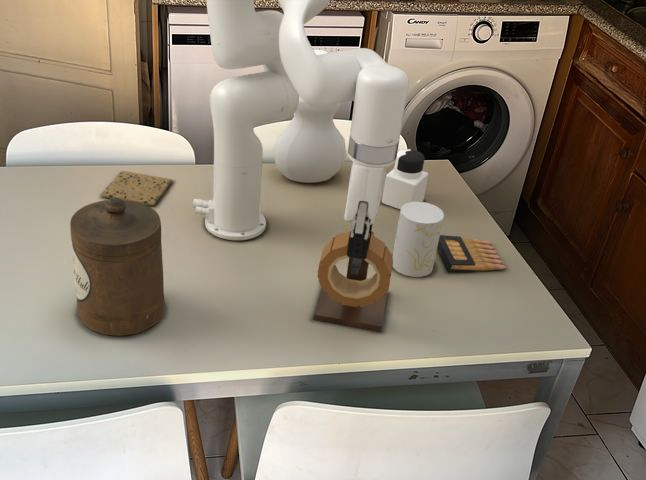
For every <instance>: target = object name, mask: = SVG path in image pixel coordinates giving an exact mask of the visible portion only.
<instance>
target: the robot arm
mask: <svg viewBox="0 0 646 480" xmlns="http://www.w3.org/2000/svg"><path fill="white" fill-rule="evenodd" d="M205 1H206V2H205V3H206V12H207V19H208V28H209V35H210V36H209V37H210V44H211V45H210V46H211V50H212V55H213V59H214V61H215V64H216V65H217V66H218V67H220V68H222V69H223V70H239V69H246V68H251V67H258V66H263V70H264V71H261V72H255V73H248V74H243V75H236V76H231V77H228V78H224V79H222V80H221V81H219V82H218V83H216V84H215V85H214V86H213V88H212V89H211V91H210V93H209V107H210V113H211V118H212V119H211V120H212V127H213V128H212V129H213V182H212V183H213V184H212V185H213V186H212V187H213V189H212V199H209V200H204V199H201V198H200V199H199V198H194V199H193V202H192V207H193V208H194V209H195V210H194V211H195V214H200V215H205V218H204V226H205V228H206V230H207V231H208V232H209V233H210V234H211V235H213V236H215V237H217V238H220V239H223V240H229V241H245V240H246V241H247V240H251V239H254V238H257V237H258V236H260V235H262V234H263V233H264V232H265V230H266V228H267V219H266V216H264V215H263V214H262V213H261V212H260V206H261V190H262V189H261V188H262V175H263V160H264V159H263V156H264V149H263V143H262V141H261V140H260V138H259V137H258V135H257V134H256V133H255V131H254V129H255V127H257V126H263V125H264V124H269V123H273V122H278V121H283V120H286V119H288V118H290V117H292V116H294V113H295V112H296V110H297V108H298V105H299V96H300V97H301V98H302V99H303V100H304V101H305V102H306V103H308V104H309V105H311V106H315V107H323V106H329V105H333V104H338V103H341V104H342V103H346V102H353V108H352V115H351V123H350V131H349V140H348V148H347V157H348V159H349V160H350V161H351V162H352V164H351V170H350V173H349V174H350V175H349V181H348V189H347V197H346V202H345V209H344V216H343V219H344V221H345V222H351V229H350V231H351V234H350V235H349V242H348V249H347V256H348V258H349V257H352V258H358V259H366V257H367V251H368V244H369V238H370V236H371V231H372V230H373V224H374V223H375V220H376V218H377V214H378V211H379V209H380V208H379V207H380V204H381V201H382V197H383V191H384V185H385V179H386V175H387V170H388V167H391V166H393V165H395V162H396V158H397V153H398V152H399V145H400V140H401V139H400V138H401V131H402V127H403V121H404V115H405V114H404V113H405V110H406V109H405V108H406V102H407V98H408V91H409V90H408V89H409V78H408V75H407V74H406V72H405V71H403V70H402V69H401V68H399V67H396V66H393V65H389V64H388V62H387V61H386V60H384V59H383V58H382V56H380V54H379V53H377V52H376V51H374V50H373V49H370V48H367V47H360V48H353V49H347V50H339V51H333V52H328V53H327V54H322V55H316V53H315V52H314V50H315V49H314V48H313V47H312V45H311V43H310V41H309V39H308V36H307V35H306V31H305V25H306V24H307V23H308V22H309V21H311V20H312V19H313V18H315V17H316V16H318V15H319V14H320V13H321V12H322V11H323V10H324V9H326V7H327V6H328V4H329V3H330V2H331V0H277V2H278V4H279V5H280V8H281V10H282V11H283V13H282V12H281V11H277V10H272V9H271V10H270V9H269V10H261V11H256V9H255V3H254V0H205ZM372 232H373V231H372ZM368 233H370V236H369V237H368Z"/></svg>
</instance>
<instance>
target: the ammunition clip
mask: <svg viewBox="0 0 646 480" xmlns="http://www.w3.org/2000/svg"><path fill="white" fill-rule="evenodd" d="M493 244H494V243H493V242H492V241H489V240H484V239H477V238H471V237H470V238H469V237H461V236H460V235H459V236H457V235H446V234H440V237H439V242H438V246H437V250H438V253H439V255H440V256H441V258H442V261H443V263H444V265H445V267H446V268H447V271H448V272H464V273H469V272H470V273H471V272H474V271H483V272H486V271H500V270H505V269H507V268H508V267H507V266H506V265H503V264H504V263H505V261H503V260H501V259H502V257H501V256H499V255H498V254H499V252H498V251H496V250H495V249H496V246H493Z"/></svg>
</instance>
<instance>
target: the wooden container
mask: <svg viewBox="0 0 646 480" xmlns="http://www.w3.org/2000/svg"><path fill="white" fill-rule="evenodd" d="M69 229H70V239H71V251H72V261H73V276H74V287H75V297H76V305H77V314H78V318H79V320H80V321H81V323H82V324H83V325H84V327H85V326H86V328H87V329H90V330H92V331H94V332H96V333H97V334H102V335H107V336H116V337H117V336H120V337H121V336H128V335H129V336H130V335H134V334H139V333H141V332H145V331H146V330H148V329H150V328H152V327H153V326H155V325H156V324H157V323H158V322H159V321H160V319H161V318H162V317H163V314H164V311H165V294H164V293H165V288H164V263H163V248H162V247H163V245H162V221H161V217H160V215H159V213H158V212H157V211H156V210H155V209H154V208H152V206H150V205H149V206H148V205H145V204H142V203H139V202H135V201H130V200H122V199H119V198H116V197H114V198H108V199H105V200H99V201H95V202H92V203H89V204H86V205H84V206H82V207H80V208H79V209H78V210H76V211H75V212H74V213H73V214H72V216H71V219H70V223H69Z"/></svg>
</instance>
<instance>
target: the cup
mask: <svg viewBox="0 0 646 480" xmlns="http://www.w3.org/2000/svg"><path fill="white" fill-rule="evenodd" d="M399 210H400V209H399ZM444 217H445V214H444V212H443V210H442V209H441V208H440V207H438V206H436V205H434V204H432V203H429V202H424V201H423V202H409V203H406V204H404V205H403V206H402V207H401V210H400V211H399V217H398V223H397V228H396V234H395V240H394V245H393V251H392V255H391V256H392V258H393V266H392V269H394V270H395V271H396V272H398V273H399V274H401V275H404V276H407V277H412V278H421V277H426V276H428V275H430V274H431V273H432V272H433V269H434V265H435V260H436V256H437V250H438V248H437V246H438V242H439V237H440V235H441V232H442V227H443V222H444Z"/></svg>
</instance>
